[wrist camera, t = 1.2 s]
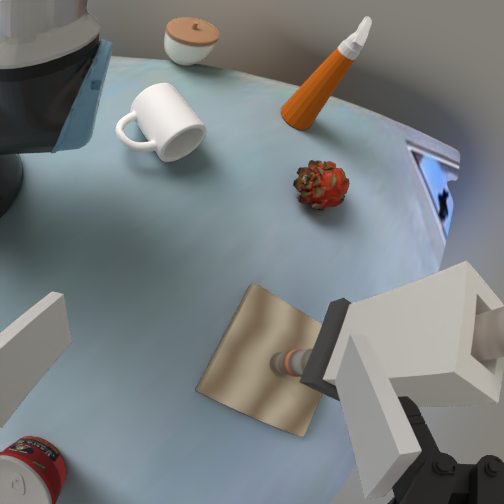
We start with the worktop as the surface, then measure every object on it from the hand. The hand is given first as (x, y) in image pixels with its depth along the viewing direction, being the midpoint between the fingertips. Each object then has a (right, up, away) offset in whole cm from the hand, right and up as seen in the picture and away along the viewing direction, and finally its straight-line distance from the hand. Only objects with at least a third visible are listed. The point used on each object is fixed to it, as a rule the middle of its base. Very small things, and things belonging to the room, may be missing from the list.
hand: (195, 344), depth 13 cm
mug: (-13, +21, +33) cm, 41 cm away
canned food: (-24, -22, +12) cm, 34 cm away
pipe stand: (+5, -11, +28) cm, 31 cm away
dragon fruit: (+13, +14, +41) cm, 45 cm away
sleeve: (+12, -5, +12) cm, 18 cm away
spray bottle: (+12, +33, +48) cm, 59 cm away
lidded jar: (-12, +44, +42) cm, 62 cm away
